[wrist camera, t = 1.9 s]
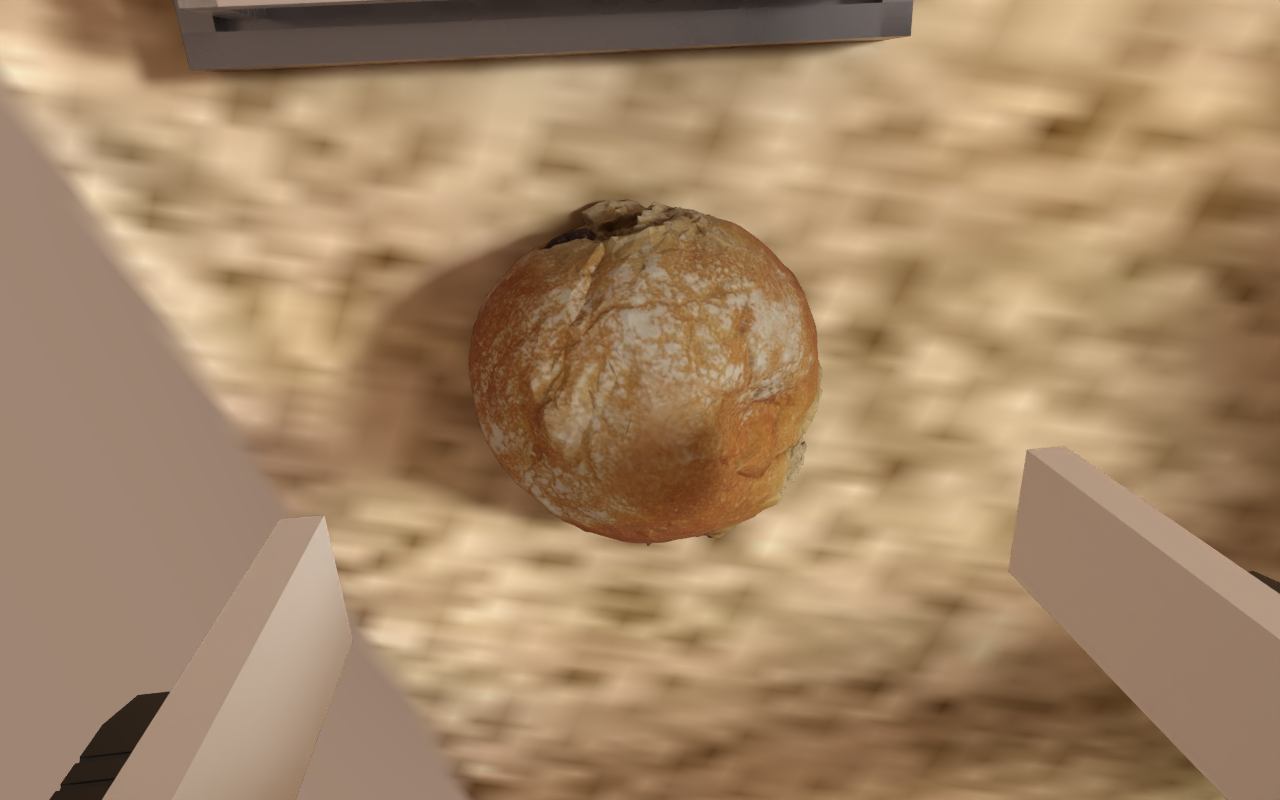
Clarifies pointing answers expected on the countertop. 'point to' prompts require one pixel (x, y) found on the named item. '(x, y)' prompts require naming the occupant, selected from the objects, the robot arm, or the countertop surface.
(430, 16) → the cooling rack
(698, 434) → the bread roll
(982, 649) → the countertop surface
